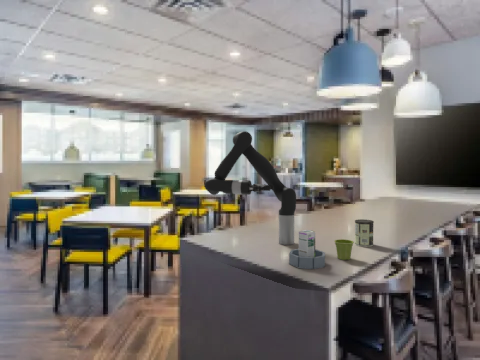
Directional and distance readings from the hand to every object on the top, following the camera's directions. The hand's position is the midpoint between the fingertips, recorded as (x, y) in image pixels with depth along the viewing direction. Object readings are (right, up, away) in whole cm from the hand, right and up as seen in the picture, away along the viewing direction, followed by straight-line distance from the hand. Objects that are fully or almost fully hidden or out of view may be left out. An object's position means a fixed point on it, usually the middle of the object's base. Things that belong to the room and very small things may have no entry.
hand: (271, 187), depth 174 cm
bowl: (+16, -36, -14) cm, 41 cm away
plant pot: (+35, -35, -6) cm, 50 cm away
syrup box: (+15, -35, -14) cm, 40 cm away
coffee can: (+56, -34, +22) cm, 69 cm away
